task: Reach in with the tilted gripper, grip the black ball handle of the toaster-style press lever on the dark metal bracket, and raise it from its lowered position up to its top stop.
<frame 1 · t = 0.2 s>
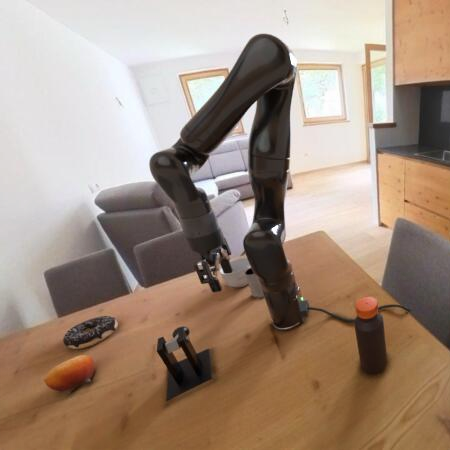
hand: (223, 281, 76), 17 cm above the table, tool pointing down, fingers open, 8 cm apart
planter: (260, 295, 98), on the table
teacup: (245, 280, 106), on the table
bottle: (374, 364, 71), on the table
donut: (94, 336, 84), on the table
lever: (177, 338, 70), point 9 cm above the table, hinge at -25.0°
fruit: (79, 382, 70), on the table
bracket: (191, 375, 70), on the table
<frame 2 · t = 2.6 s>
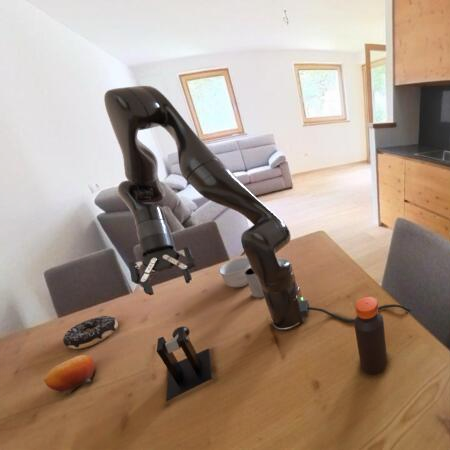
hand: (170, 288, 79), 15 cm above the table, tool tilted 45°, fingers open, 8 cm apart
nothing on the table moved.
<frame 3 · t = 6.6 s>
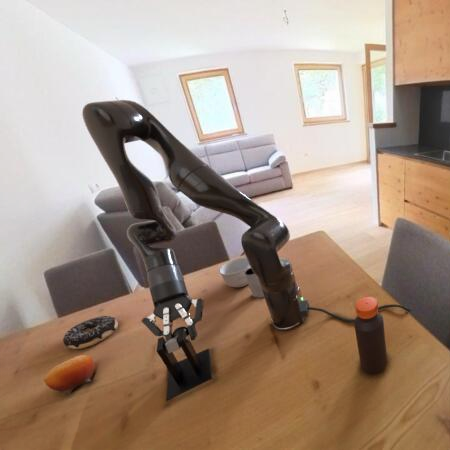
hand: (184, 343, 74), 5 cm above the table, tool tilted 45°, fingers closed on lever, 3 cm apart
lever: (177, 338, 70), point 9 cm above the table, hinge at -25.1°, touching gripper
everything else where it was.
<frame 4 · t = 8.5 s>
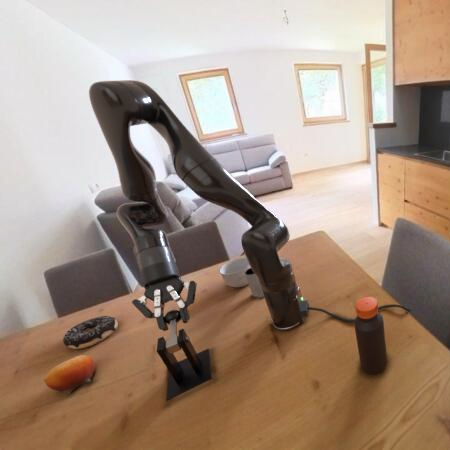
hand: (175, 326, 72), 10 cm above the table, tool tilted 45°, fingers closed on lever, 3 cm apart
lever: (173, 329, 69), point 12 cm above the table, hinge at 5.7°, touching gripper
everything else where it was.
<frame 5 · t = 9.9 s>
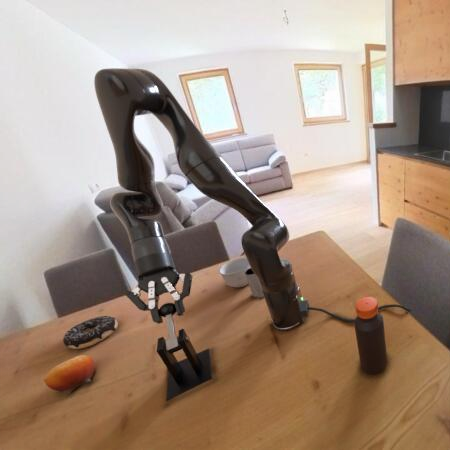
hand: (170, 318, 70), 13 cm above the table, tool tilted 45°, fingers closed on lever, 3 cm apart
lever: (170, 325, 68), point 13 cm above the table, hinge at 23.9°, touching gripper
everything else where it was.
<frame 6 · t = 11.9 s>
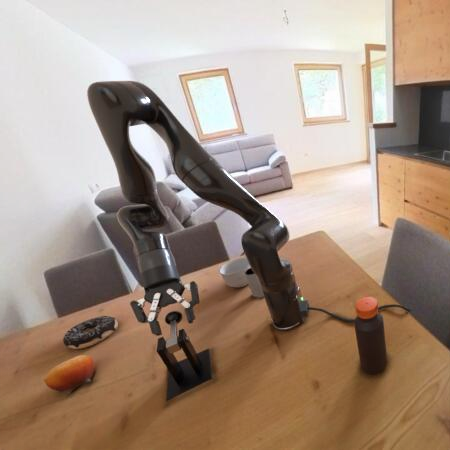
hand: (175, 328, 71), 10 cm above the table, tool tilted 45°, fingers open, 6 cm apart
lever: (173, 330, 69), point 11 cm above the table, hinge at 3.8°
everything else where it was.
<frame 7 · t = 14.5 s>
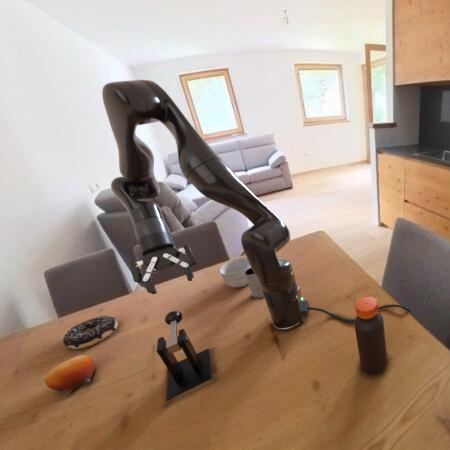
hand: (172, 286, 79), 15 cm above the table, tool tilted 40°, fingers open, 8 cm apart
nothing on the table moved.
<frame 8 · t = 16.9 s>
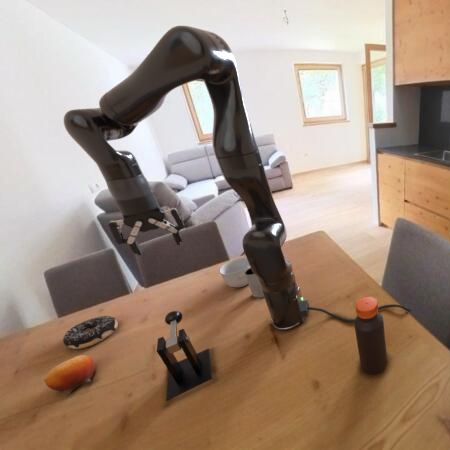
hand: (160, 248, 77), 26 cm above the table, tool pointing down, fingers open, 8 cm apart
nothing on the table moved.
at the end: lever reached +24° during the clip, +4° at the end; lever at +4° (first picture: -25°) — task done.
